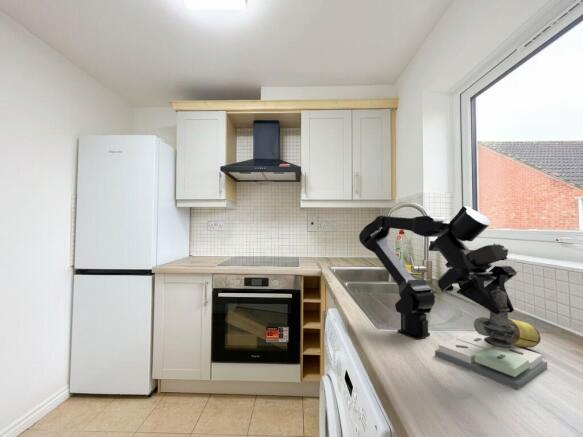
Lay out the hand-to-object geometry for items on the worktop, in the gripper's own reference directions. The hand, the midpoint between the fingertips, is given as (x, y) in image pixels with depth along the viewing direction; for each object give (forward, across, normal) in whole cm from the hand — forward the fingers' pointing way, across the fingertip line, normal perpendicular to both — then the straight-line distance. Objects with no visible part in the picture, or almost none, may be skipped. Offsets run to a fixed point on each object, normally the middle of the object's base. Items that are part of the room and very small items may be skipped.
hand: (505, 312), depth 55 cm
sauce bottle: (+2, +22, +14) cm, 25 cm away
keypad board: (+5, +3, +14) cm, 15 cm away
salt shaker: (+4, 0, +6) cm, 7 cm away
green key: (+9, 0, +10) cm, 13 cm away
